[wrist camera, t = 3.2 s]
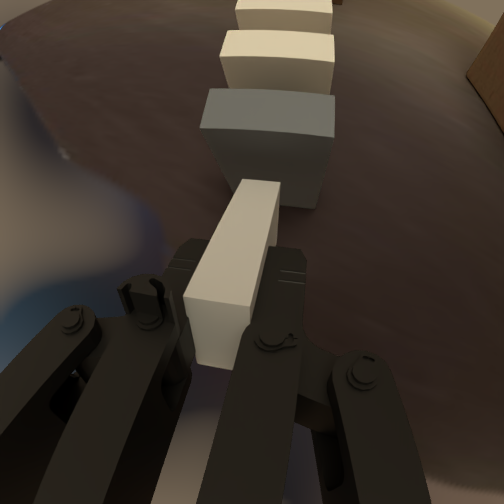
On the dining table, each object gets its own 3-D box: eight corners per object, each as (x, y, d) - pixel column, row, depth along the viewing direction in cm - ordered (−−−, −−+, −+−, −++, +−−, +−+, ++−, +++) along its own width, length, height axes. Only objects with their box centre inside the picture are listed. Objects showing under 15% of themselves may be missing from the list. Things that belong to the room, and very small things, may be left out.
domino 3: (321, 107, 20) (332, 13, 11) (254, 101, 21) (234, 9, 12) (322, 87, 20) (331, -5, 12) (257, 82, 21) (241, -8, 12)
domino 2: (319, 153, 20) (334, 62, 11) (246, 146, 20) (219, 56, 11) (320, 129, 20) (333, 35, 11) (250, 123, 20) (227, 30, 12)
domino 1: (315, 209, 19) (334, 137, 10) (237, 200, 20) (199, 128, 11) (317, 180, 19) (334, 95, 10) (241, 172, 20) (209, 88, 11)
